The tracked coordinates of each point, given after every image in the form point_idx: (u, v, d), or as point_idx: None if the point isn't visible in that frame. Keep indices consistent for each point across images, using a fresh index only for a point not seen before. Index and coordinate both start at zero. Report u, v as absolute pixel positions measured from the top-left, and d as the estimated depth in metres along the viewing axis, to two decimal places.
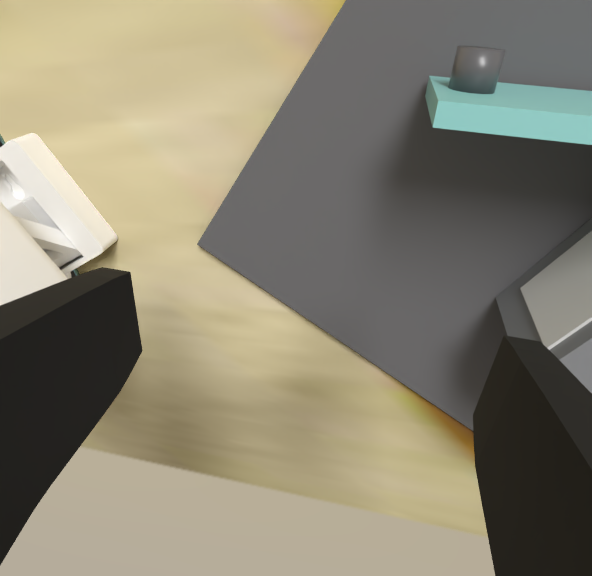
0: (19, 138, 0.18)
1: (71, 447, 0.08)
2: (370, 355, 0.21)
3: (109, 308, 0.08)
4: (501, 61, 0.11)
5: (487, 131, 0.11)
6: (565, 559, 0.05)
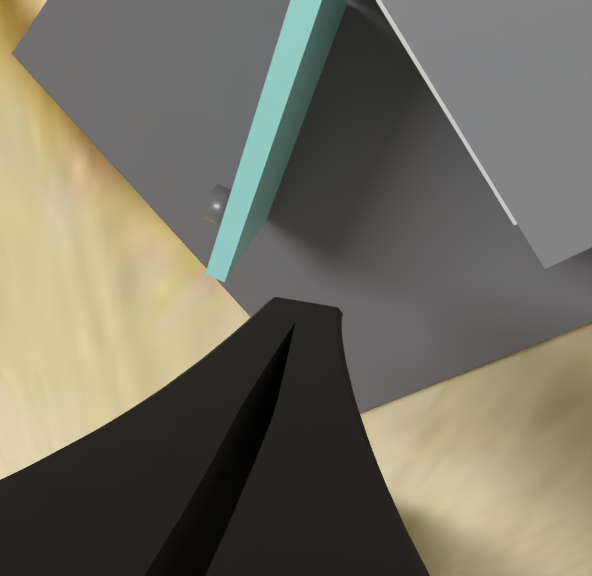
0: None
1: None
2: (533, 338, 0.17)
3: None
4: (218, 193, 0.14)
5: (235, 246, 0.12)
6: None
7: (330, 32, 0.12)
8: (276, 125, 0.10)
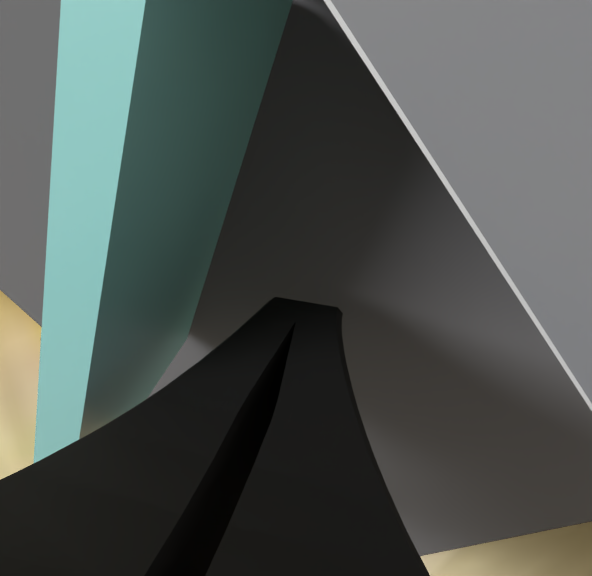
0: None
1: None
2: None
3: None
4: None
5: None
6: None
7: (252, 57, 0.06)
8: (96, 284, 0.04)
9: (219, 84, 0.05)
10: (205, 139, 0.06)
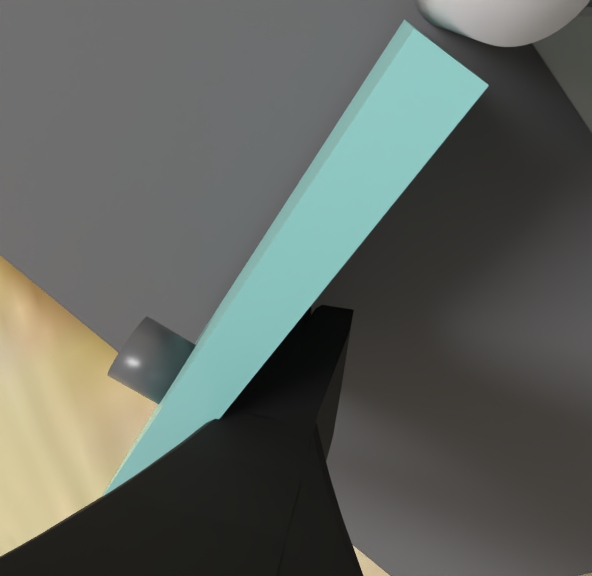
0: None
1: None
2: None
3: (346, 351, 0.08)
4: (142, 344, 0.08)
5: None
6: None
7: None
8: (276, 339, 0.04)
9: None
10: None
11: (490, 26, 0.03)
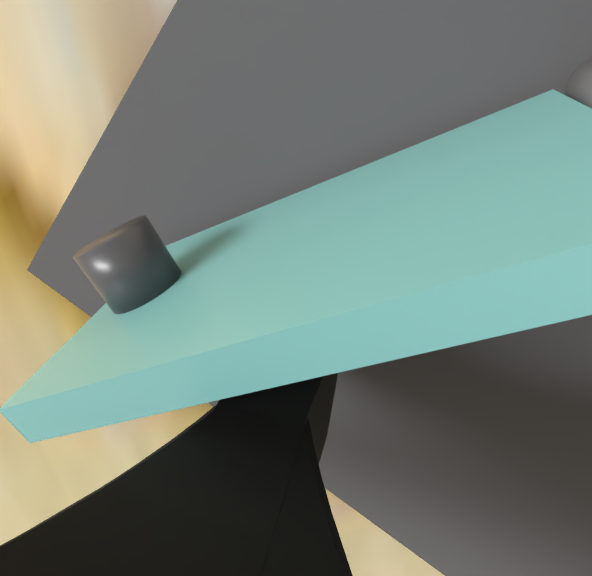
0: None
1: None
2: None
3: None
4: (135, 247, 0.06)
5: (98, 423, 0.05)
6: None
7: None
8: (380, 357, 0.04)
9: None
10: None
11: None
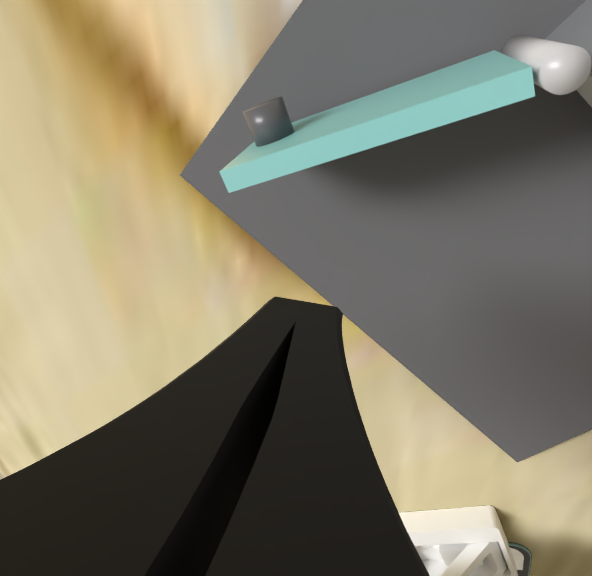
0: None
1: None
2: None
3: None
4: (279, 108, 0.13)
5: (270, 177, 0.12)
6: None
7: None
8: (406, 134, 0.10)
9: None
10: None
11: (547, 81, 0.09)
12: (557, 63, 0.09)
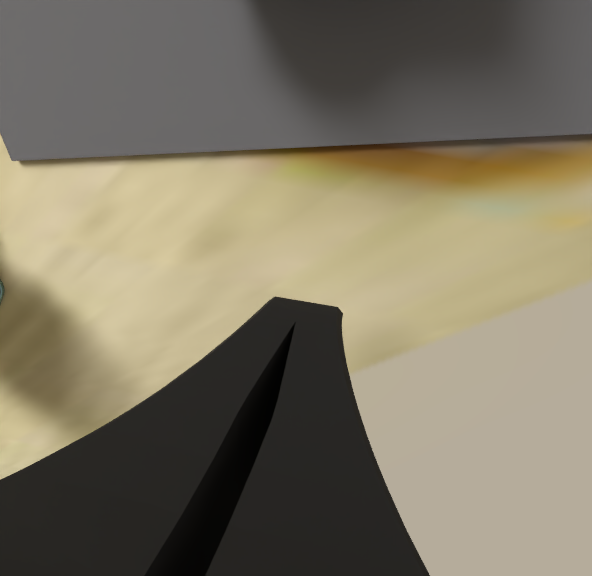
0: None
1: None
2: (211, 143, 0.17)
3: None
4: None
5: None
6: None
7: None
8: None
9: None
10: None
11: None
12: None
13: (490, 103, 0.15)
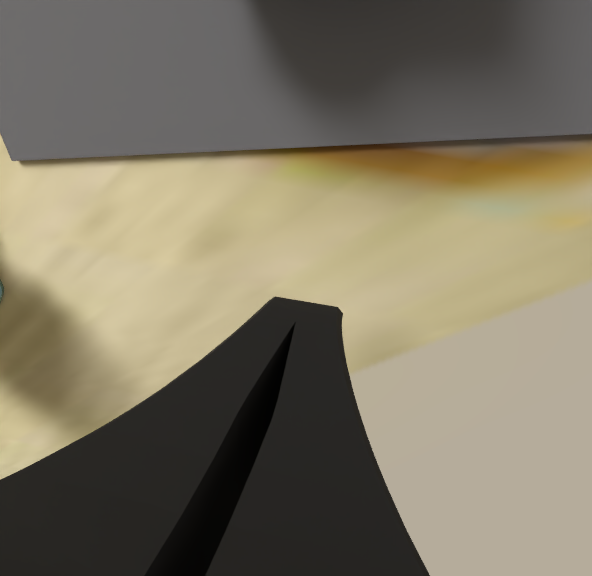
0: None
1: None
2: (211, 143, 0.17)
3: None
4: None
5: None
6: None
7: None
8: None
9: None
10: None
11: None
12: None
13: (490, 103, 0.15)
